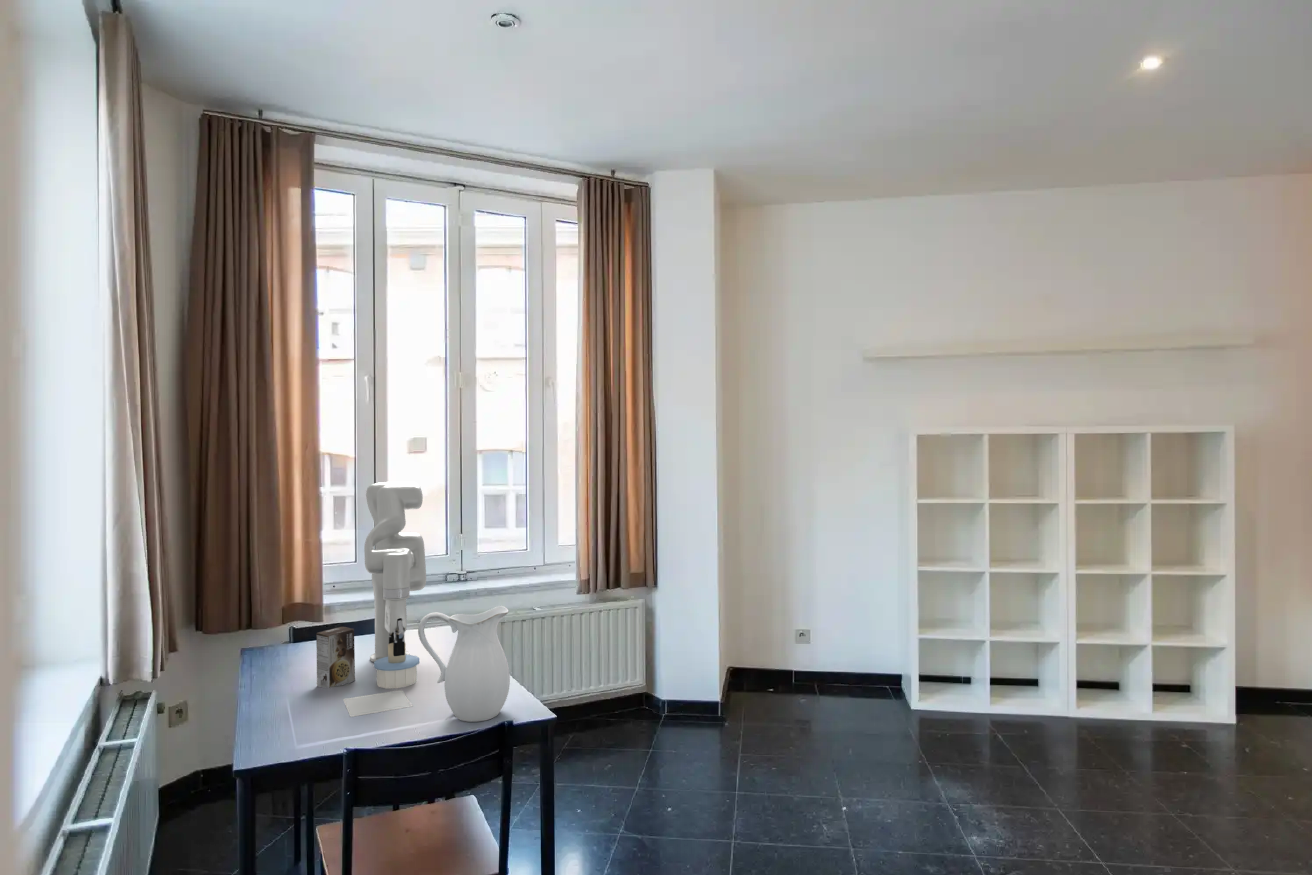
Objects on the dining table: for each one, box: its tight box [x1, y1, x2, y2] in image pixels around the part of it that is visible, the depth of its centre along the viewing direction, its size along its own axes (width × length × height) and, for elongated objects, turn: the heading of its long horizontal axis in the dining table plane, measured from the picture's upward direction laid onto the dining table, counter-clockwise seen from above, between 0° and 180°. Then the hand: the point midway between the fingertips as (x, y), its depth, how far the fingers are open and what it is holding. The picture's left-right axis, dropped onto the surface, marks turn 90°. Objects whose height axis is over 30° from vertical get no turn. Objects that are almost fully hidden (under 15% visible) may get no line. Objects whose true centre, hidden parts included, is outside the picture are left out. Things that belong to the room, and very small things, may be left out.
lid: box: [373, 642, 420, 671], centre depth 228 cm, size 13×13×6 cm
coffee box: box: [315, 626, 356, 689], centre depth 229 cm, size 9×6×16 cm
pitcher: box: [417, 605, 511, 723], centre depth 202 cm, size 24×17×28 cm
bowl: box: [376, 665, 418, 689], centre depth 228 cm, size 11×11×6 cm
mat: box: [342, 689, 414, 718], centre depth 210 cm, size 16×16×1 cm
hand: (396, 651), depth 228 cm, fingers open, 6 cm apart
